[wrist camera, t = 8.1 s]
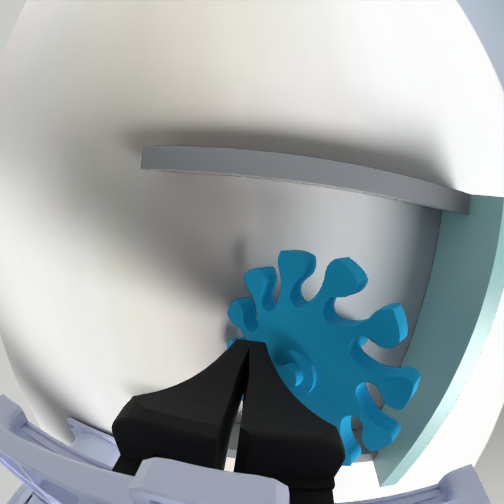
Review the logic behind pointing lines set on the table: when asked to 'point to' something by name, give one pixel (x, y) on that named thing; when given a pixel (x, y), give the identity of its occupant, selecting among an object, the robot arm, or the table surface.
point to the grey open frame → (438, 290)
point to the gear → (328, 346)
